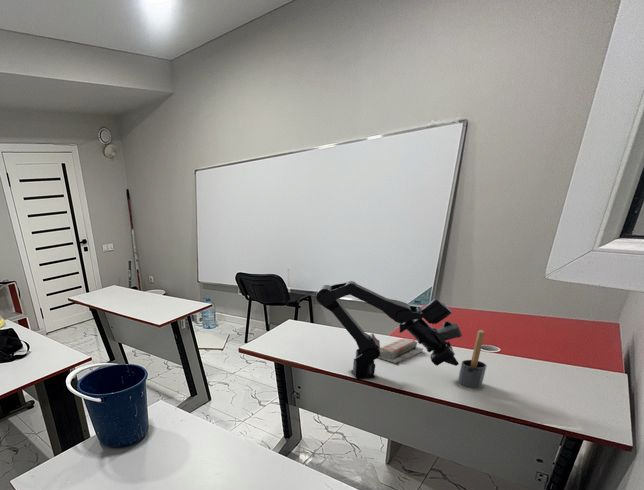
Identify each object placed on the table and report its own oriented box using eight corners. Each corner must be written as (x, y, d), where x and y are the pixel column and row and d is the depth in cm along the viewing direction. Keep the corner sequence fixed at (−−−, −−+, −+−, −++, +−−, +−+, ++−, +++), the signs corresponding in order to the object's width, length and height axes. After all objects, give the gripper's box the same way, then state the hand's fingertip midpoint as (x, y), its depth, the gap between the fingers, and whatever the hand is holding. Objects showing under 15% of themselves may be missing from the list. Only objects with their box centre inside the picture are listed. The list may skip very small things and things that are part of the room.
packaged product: (397, 353, 138) (373, 346, 146) (396, 364, 140) (372, 356, 148) (424, 340, 145) (400, 334, 154) (423, 351, 147) (399, 345, 156)
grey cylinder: (465, 390, 118) (469, 368, 115) (453, 381, 124) (457, 360, 121) (486, 389, 118) (491, 367, 115) (472, 380, 123) (477, 359, 120)
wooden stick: (468, 385, 120) (479, 332, 113) (466, 381, 122) (478, 329, 115) (472, 385, 119) (484, 332, 112) (470, 382, 121) (482, 329, 114)
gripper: (451, 326, 109) (489, 362, 108) (441, 308, 124) (475, 339, 123) (416, 348, 115) (453, 382, 114) (412, 328, 130) (444, 358, 129)
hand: (457, 364), depth 120 cm, fingers closed
